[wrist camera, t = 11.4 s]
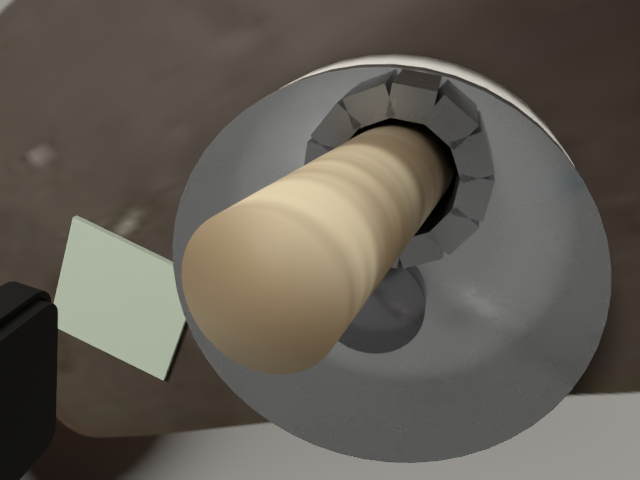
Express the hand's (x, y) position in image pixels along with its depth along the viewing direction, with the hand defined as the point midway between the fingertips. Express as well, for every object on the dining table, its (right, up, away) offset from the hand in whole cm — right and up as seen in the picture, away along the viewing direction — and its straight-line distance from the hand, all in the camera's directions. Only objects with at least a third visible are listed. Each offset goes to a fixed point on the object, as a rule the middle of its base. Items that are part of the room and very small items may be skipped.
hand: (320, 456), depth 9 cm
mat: (-13, -1, +30) cm, 33 cm away
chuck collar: (+3, +2, +21) cm, 21 cm away
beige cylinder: (+4, +7, +16) cm, 18 cm away
